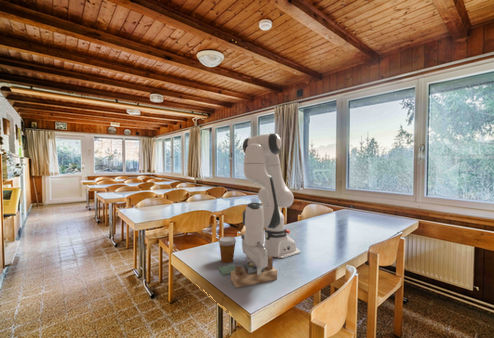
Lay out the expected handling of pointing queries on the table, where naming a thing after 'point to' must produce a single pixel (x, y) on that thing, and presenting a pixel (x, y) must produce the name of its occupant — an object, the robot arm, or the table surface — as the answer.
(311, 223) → the table surface
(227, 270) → the felt pad
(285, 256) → the robot arm
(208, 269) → the table surface
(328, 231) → the table surface
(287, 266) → the table surface
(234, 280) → the plane body
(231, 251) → the disposable coffee cup
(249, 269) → the lever cap
